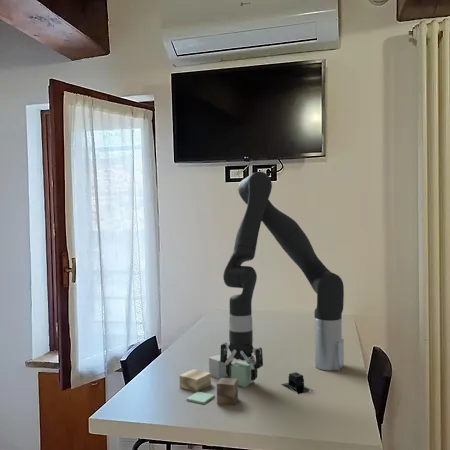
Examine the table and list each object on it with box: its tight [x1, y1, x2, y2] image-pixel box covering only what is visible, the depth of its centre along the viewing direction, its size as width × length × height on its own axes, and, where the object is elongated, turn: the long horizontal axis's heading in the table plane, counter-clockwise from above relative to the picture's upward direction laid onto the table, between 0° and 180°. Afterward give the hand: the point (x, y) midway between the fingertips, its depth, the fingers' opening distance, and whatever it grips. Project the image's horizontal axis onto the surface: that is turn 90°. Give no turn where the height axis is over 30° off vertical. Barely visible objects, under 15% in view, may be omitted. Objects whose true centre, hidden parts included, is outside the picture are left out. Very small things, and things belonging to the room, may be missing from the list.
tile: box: [186, 391, 215, 405], centre depth 145 cm, size 6×6×1 cm
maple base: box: [179, 368, 212, 393], centre depth 156 cm, size 7×7×4 cm
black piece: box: [280, 371, 314, 395], centre depth 153 cm, size 12×7×5 cm, turn 28°
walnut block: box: [216, 377, 239, 406], centre depth 143 cm, size 5×5×6 cm
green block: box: [230, 360, 254, 387], centre depth 158 cm, size 5×5×6 cm
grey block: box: [208, 353, 229, 380], centre depth 165 cm, size 5×5×6 cm
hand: (241, 377), depth 158 cm, fingers open, 8 cm apart
